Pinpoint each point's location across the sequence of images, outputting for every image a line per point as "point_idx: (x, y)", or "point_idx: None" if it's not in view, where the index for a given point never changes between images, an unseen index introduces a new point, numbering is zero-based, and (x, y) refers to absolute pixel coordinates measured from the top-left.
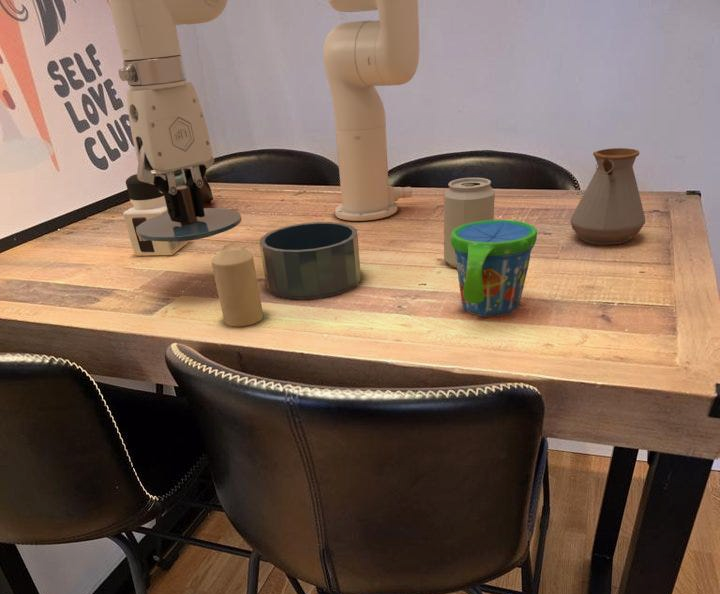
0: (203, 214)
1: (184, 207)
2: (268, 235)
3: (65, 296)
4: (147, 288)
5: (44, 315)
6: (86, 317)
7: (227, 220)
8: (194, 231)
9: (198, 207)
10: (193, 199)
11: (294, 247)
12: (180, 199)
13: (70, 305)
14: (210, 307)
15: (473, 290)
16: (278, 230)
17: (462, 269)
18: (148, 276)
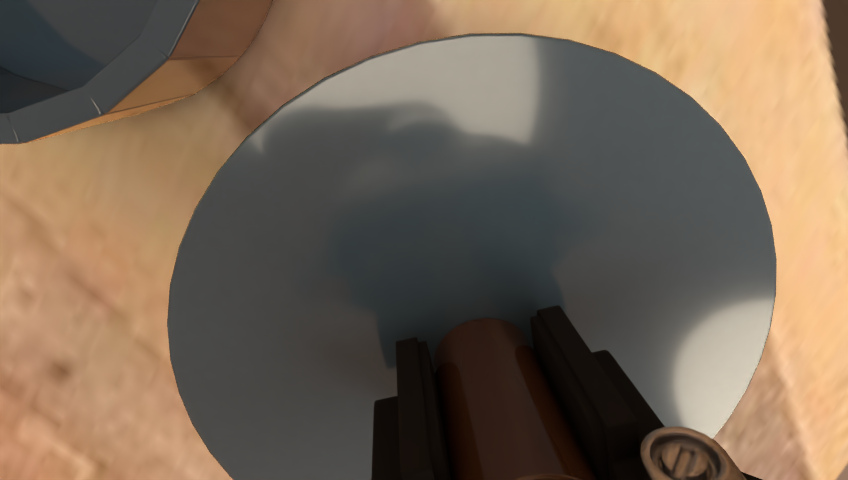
0: (405, 342)
1: (538, 382)
2: (107, 64)
3: (730, 443)
4: None
5: (842, 355)
6: (801, 257)
7: (306, 195)
8: (582, 134)
9: (431, 374)
10: (444, 439)
11: (5, 99)
12: (601, 394)
13: (764, 375)
14: (531, 5)
15: None
16: (15, 112)
17: None
18: None
